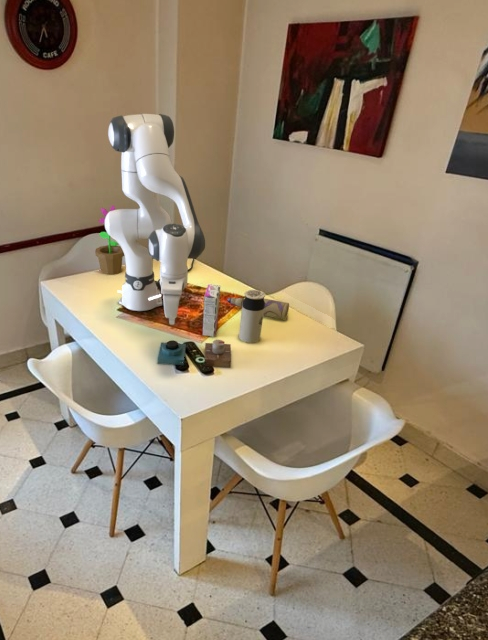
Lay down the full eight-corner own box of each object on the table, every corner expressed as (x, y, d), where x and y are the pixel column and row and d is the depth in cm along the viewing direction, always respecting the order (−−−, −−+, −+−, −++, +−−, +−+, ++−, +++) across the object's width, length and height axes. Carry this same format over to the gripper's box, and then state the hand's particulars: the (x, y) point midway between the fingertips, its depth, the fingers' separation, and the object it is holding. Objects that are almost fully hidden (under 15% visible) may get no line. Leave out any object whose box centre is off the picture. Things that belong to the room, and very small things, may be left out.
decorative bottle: (288, 315, 190) (291, 300, 186) (283, 323, 184) (286, 307, 180) (230, 302, 199) (231, 288, 195) (223, 309, 194) (225, 294, 190)
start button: (167, 344, 163) (167, 339, 161) (178, 344, 162) (178, 340, 161) (166, 350, 159) (166, 345, 158) (177, 350, 159) (177, 346, 158)
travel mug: (234, 338, 174) (239, 293, 163) (246, 331, 178) (252, 287, 168) (251, 345, 169) (258, 300, 159) (263, 338, 174) (270, 293, 164)
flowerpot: (129, 266, 232) (126, 204, 214) (120, 277, 221) (117, 212, 203) (102, 264, 235) (97, 202, 217) (92, 274, 223) (86, 210, 206)
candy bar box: (205, 322, 184) (207, 283, 174) (217, 323, 183) (221, 285, 173) (201, 336, 175) (203, 295, 165) (214, 337, 174) (217, 297, 164)
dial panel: (204, 350, 167) (205, 342, 165) (229, 351, 166) (230, 343, 164) (204, 366, 158) (204, 358, 156) (230, 367, 157) (231, 360, 155)
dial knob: (212, 354, 159) (213, 344, 156) (212, 348, 162) (212, 338, 160) (224, 354, 158) (224, 344, 156) (223, 348, 162) (224, 339, 159)
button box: (161, 347, 168) (161, 338, 165) (185, 349, 167) (186, 339, 165) (157, 363, 159) (157, 353, 156) (183, 365, 158) (184, 355, 156)
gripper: (166, 266, 154) (166, 304, 163) (160, 291, 138) (160, 331, 146) (185, 267, 154) (184, 304, 162) (181, 292, 138) (180, 332, 146)
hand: (172, 317), depth 154 cm, fingers open, 7 cm apart
